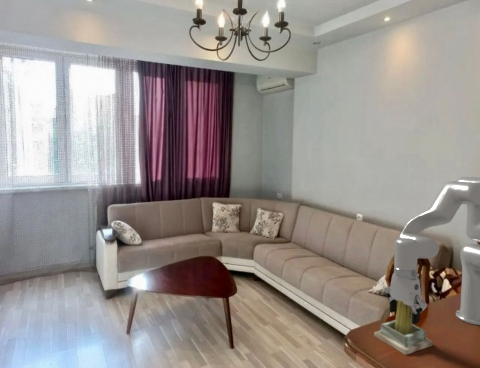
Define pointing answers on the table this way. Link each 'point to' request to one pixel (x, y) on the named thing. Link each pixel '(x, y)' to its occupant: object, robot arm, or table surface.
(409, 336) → the vase stand
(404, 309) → the vase
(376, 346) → the table surface
